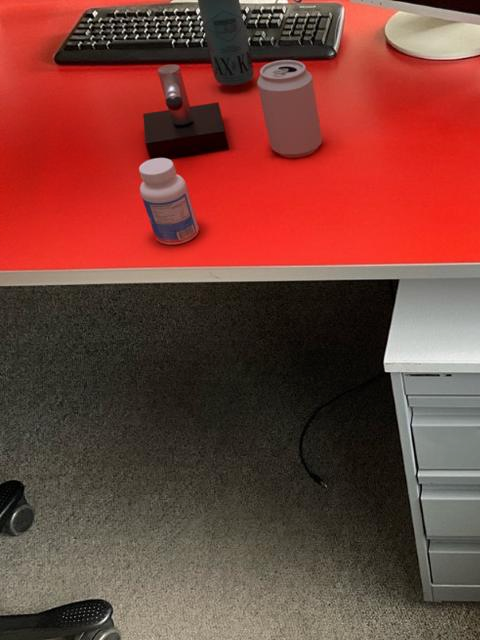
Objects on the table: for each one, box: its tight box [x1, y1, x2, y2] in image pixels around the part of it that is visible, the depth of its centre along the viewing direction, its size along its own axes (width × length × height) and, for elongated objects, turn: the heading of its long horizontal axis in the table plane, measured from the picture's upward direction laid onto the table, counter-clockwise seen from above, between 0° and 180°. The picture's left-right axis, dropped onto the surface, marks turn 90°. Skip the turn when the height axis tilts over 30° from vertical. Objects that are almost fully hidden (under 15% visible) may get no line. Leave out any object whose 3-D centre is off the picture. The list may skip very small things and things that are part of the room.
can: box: [256, 59, 323, 158], centre depth 126 cm, size 8×8×12 cm
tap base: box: [142, 102, 230, 160], centre depth 131 cm, size 11×10×3 cm
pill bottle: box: [138, 158, 200, 246], centre depth 110 cm, size 6×5×10 cm
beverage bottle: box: [197, 0, 255, 86], centre depth 140 cm, size 6×7×20 cm
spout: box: [157, 64, 193, 125], centre depth 125 cm, size 3×11×8 cm, turn 19°
